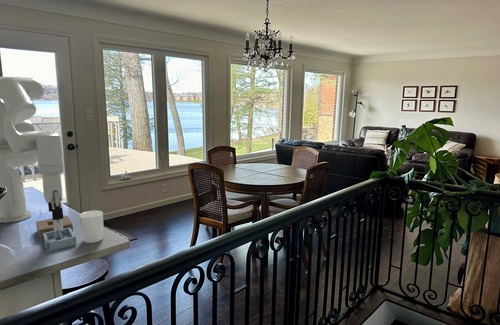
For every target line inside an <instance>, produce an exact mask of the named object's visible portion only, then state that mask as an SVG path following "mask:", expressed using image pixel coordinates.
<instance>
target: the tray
mask: <svg viewBox="0 0 500 325" xmlns="http://www.w3.org/2000/svg"><path fill="white" fill-rule="evenodd" d="M63 230H64V239H61V240H57V241H55V236H54V231H51V232H46V233H43V238H44V240H43V242H44V245H45V248H46V251H47V252H53V251H57V250H61V249H64V248H69V247H74V246H77V237H76V234H75V233H74V230H73V231H72V230H71V228H65V229H63Z"/></svg>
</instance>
